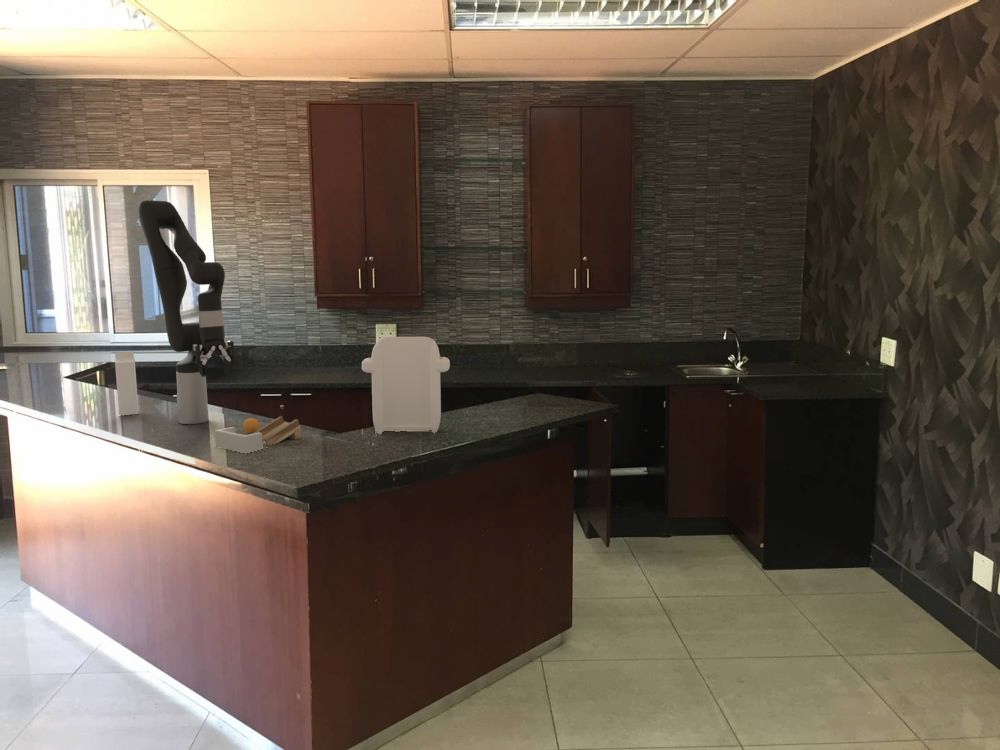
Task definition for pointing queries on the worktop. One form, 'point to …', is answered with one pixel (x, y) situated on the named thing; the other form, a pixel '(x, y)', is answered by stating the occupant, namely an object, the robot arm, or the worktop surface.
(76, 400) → the worktop surface
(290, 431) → the ramp
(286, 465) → the worktop surface
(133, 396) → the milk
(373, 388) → the toaster
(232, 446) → the backstop
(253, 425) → the ball
